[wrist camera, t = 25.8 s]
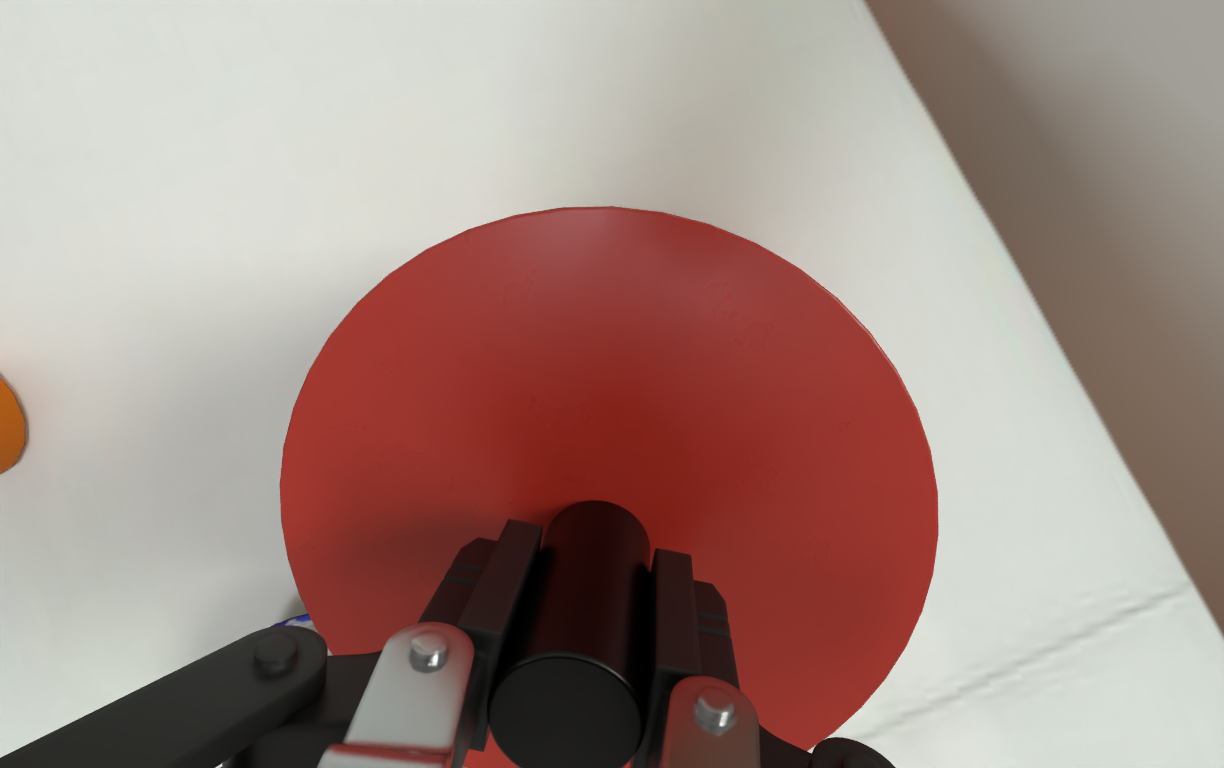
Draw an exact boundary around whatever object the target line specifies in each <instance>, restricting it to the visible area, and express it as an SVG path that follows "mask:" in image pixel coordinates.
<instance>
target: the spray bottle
mask: <svg viewBox="0 0 1224 768" xmlns="http://www.w3.org/2000/svg"><path fill="white" fill-rule="evenodd" d="M24 444H25V425H24V417H23V415H22V412H21V410H20V408H19V405H18V403H17V401H16V398H15V396H14V394H13V393H12V391H11V390H10V389H9V388H8V387H7V386H6V384H5V383H4V382H3V381H2V380H1V378H0V474H1V473H2V472H4V471H5V470H6V469H8V468H9V467H11V466H12V465H14V464H15V463H16V461H17V459H18V457H19V455H20V453H21V451H22V448H23V446H24Z"/></svg>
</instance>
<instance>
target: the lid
mask: <svg viewBox="0 0 1224 768" xmlns="http://www.w3.org/2000/svg"><path fill="white" fill-rule="evenodd" d="M280 500H281V523H282V528H283V534H284V539H285V545H286V550H287V556H288V560H289V564H290V567H291V570H292V573H293V576H294V579H295V582H296V585H297V588H298V592H299V595H300V597H301V599H302V601H303V603H304V605H305V607H306V610H307V612H308V614H309V616H310V618H311V620H312V622H313V625H314V627H315V629H316V630H317V632H318V633H319V634H320V635H321V636H322V637H323V638H324V640H325V641H326V644H327V647H328V649H329V651H330V652H331V654H332V655H352V654H366V653H372V652H377V651H380V650H383V648H384V646H385V644H386V642H387V641H388V640H389V639H390V637H391V636H392V635H394V634H395V633H396V632H398V631H399V630H401V629H403V628H405V627H407V626H410V625H413V624H417V622H418V621H419V619H420V617H421V616H422V614H423V612H424V610H425V609H426V607H427V605H428V604H429V602H430V600H431V598H432V597H433V595H434V593H435V592H436V590H437V588H438V586H439V585H440V583H441V581H442V580H444V576H445V574H446V573H447V571H448V569H449V568H450V567H451V565H452V562H453V561H454V559H455V557H456V556H457V554H458V552H459V550H460V549H461V548H462V547H464V546H465V545H467V544H468V543H470V542H472V541H473V540H475V539H476V538H478V537H480V538H485V539H490V540H495V541H498V539H499V537H500V535H501V533H502V531H503V529H504V527H505V525H506V523H507V521H508V519H514V520H519V521H524V522H529V523H534V524H539V525H543V533H542V540H541V546H540V552H539V555H538V558H537V561H536V563H535V566H534V569H533V572H532V575H531V578H530V581H529V583H528V586H527V589H526V592H525V595H524V598H523V601H522V603H521V606H520V609H519V612H518V615H517V618H516V621H515V623H514V626H513V629H512V632H511V635H510V638H509V641H508V643H507V646H506V649H505V652H504V655H503V658H502V661H501V664H500V666H499V669H498V672H497V675H496V678H495V681H494V683H493V685H492V688H491V691H490V693H489V697H488V702H487V719H488V724H489V728H490V735H489V738H488V741H487V744H486V747H485V750H484V752H481V751H476V750H471V749H469V750H468V752H467V755H466V758H465V761H464V764H463V766H464V767H466V768H630V760H631V759H632V758H633V756H634V755H635V754H636V752H637V751H638V749H639V747H640V745H641V743H642V740H643V737H644V733H645V727H646V682H647V647H648V612H649V578H650V569H651V565H652V560H653V556H654V552H655V549H656V548H660V549H666V550H671V551H676V552H681V553H686V554H690V555H691V558H692V569H693V580H697V581H702V582H707V583H712V584H713V585H714V586H715V588H716V589H717V590H718V592H719V593H720V594H721V596H722V597H723V599H724V600H725V602H726V608H727V614H728V623H729V626H730V632H731V636H730V638H732V644H733V650H734V656H735V662H736V668H737V674H738V680H739V686H740V691H741V692H742V693H743V694H744V695H745V696H746V697H747V698H748V699H749V700H750V701H751V703H752V704H753V706H754V708H755V709H756V712H757V715H758V720H759V724H760V725H761V726H762V727H764V728H765V729H766V730H767V731H769V732H770V733H772V734H773V735H775V736H776V737H778V738H780V739H782V740H784V741H786V742H788V743H790V744H792V745H794V746H796V747H799V748H801V749H803V750H805V751H808V750H809V749H811V748H812V747H814V746H815V745H817V744H818V743H819V742H821V741H822V740H824V739H825V738H827V737H828V736H829V735H831V734H832V733H834V732H835V731H836V730H837V729H838V728H839V727H840V726H841V725H842V724H844V723H845V722H846V721H847V720H848V719H849V718H850V717H851V716H852V715H853V714H855V713H856V712H857V711H858V710H859V709H860V708H861V707H862V706H863V705H864V704H865V702H866V701H867V700H868V699H869V698H870V696H871V695H872V694H873V693H874V692H875V691H876V689H877V688H878V687H879V686H880V685H881V683H882V682H883V681H884V680H885V679H886V677H887V676H888V674H889V673H890V671H891V669H892V668H893V666H894V665H895V663H896V662H897V660H898V658H899V657H900V655H901V654H902V652H903V651H904V649H905V647H906V646H907V644H908V641H909V639H910V637H911V635H912V633H913V630H914V628H915V626H916V624H917V622H918V619H919V617H920V615H921V613H922V610H923V607H924V603H925V600H926V596H927V593H928V589H929V586H930V582H931V579H932V576H933V571H934V563H935V556H936V548H937V541H938V491H937V485H936V479H935V473H934V468H933V462H932V456H931V450H930V447H929V444H928V441H927V438H926V435H925V432H924V429H923V426H922V423H921V420H920V417H919V414H918V411H917V409H916V407H915V405H914V403H913V401H912V399H911V397H910V395H909V393H908V391H907V389H906V387H905V385H904V383H903V381H902V379H901V377H900V375H899V373H898V371H897V369H896V368H895V367H894V365H893V364H892V362H891V361H890V360H889V358H888V357H887V355H886V354H885V353H884V351H883V350H882V348H881V347H880V346H879V344H878V343H877V341H876V340H875V339H874V337H873V336H872V334H871V333H870V332H869V331H868V330H867V329H866V328H865V326H864V325H863V324H862V323H861V322H860V321H859V320H858V319H857V318H856V317H855V316H854V315H853V314H852V313H851V312H850V311H849V310H848V309H847V308H846V307H845V306H844V305H843V304H842V302H841V301H840V300H839V299H838V298H837V297H835V296H834V295H833V294H831V293H830V292H829V291H828V290H826V289H825V288H824V287H823V286H821V285H820V284H819V283H817V282H816V281H815V280H814V279H812V278H811V277H810V276H808V275H807V274H806V273H805V272H803V271H802V270H801V269H800V268H798V267H796V266H795V265H793V264H791V263H789V262H788V261H786V260H784V259H782V258H781V257H779V256H777V255H776V254H774V253H772V252H770V251H769V250H767V249H765V248H763V247H762V246H760V245H758V244H757V243H754V242H752V241H749V240H747V239H744V238H742V237H739V236H737V235H735V234H732V233H730V232H727V231H725V230H722V229H720V228H717V227H715V226H712V225H710V224H706V223H703V222H699V221H695V220H691V219H687V218H683V217H679V216H675V215H671V214H667V213H663V212H657V211H648V210H640V209H631V208H622V207H614V206H609V207H564V208H556V209H550V210H544V211H538V212H532V213H525V214H519V215H514V216H510V217H507V218H504V219H501V220H497V221H494V222H491V223H488V224H484V225H481V226H478V227H475V228H471V229H468V230H466V231H464V232H462V233H460V234H458V235H456V236H454V237H452V238H449V239H447V240H445V241H443V242H441V243H439V244H437V245H435V246H432V247H430V248H428V249H426V250H425V251H423V252H422V253H420V254H419V255H417V256H416V257H414V258H413V259H411V260H410V261H408V262H407V263H405V264H404V265H402V266H401V267H399V268H398V269H396V270H395V271H393V272H392V273H390V274H389V275H388V276H387V277H385V278H384V279H383V280H382V281H381V282H380V283H379V284H378V285H377V286H375V287H374V288H373V289H372V290H371V291H370V292H369V293H368V294H366V295H365V296H364V297H363V298H362V299H361V300H360V301H359V302H358V303H357V304H356V305H355V306H354V307H353V308H352V310H351V311H350V312H349V313H348V314H347V316H346V317H345V318H344V319H343V321H342V322H341V323H340V324H339V325H338V327H337V328H336V329H335V330H334V331H333V333H332V334H331V335H330V336H329V338H328V340H327V341H326V343H325V345H324V346H323V348H322V350H321V351H320V353H319V355H318V356H317V358H316V360H315V361H314V363H313V365H312V366H311V368H310V370H309V372H308V374H307V376H306V379H305V381H304V384H303V386H302V388H301V391H300V393H299V396H298V398H297V400H296V403H295V405H294V408H293V411H292V415H291V419H290V423H289V427H288V431H287V435H286V439H285V443H284V449H283V458H282V468H281V478H280Z"/></svg>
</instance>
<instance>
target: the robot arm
mask: <svg viewBox="0 0 1224 768" xmlns="http://www.w3.org/2000/svg"><path fill="white" fill-rule="evenodd" d="M542 533H543V525H539V524H534V523H529V522H524V521H519V520H514V519H508V521H507V523H506V525H505V527H504V529H503V531H502V533H501V535H500V537H499V539H498V541H495V540H490V539H485V538H480V537H478V538H476V539H475V540H473V541H472V542H470V543H468V544H467V545H465V546H464V547H462V548H461V549H460V550H459V552H458V554H457V556H456V557H455V559H454V561H453V562H452V565H451V567H450V568H449V569H448V571H447V573H446V574H445V576H444V580H442V581H441V583H440V585H439V586H438V588H437V590H436V592H435V593H434V595H433V597H432V598H431V600H430V602H429V604H428V605H427V607H426V609H425V610H424V612H423V614H422V616H421V617H420V619H419V621H418V622H417V624H413V625H410V626H407V627H405V628H403V629H401V630H399V631H398V632H396V633H395V634H394V635H392V636H391V637H390V639H389V640H388V641H387V642H386V644H385V646H384V648H383V650H380V651H377V652H372V653H366V654H352V655H330V656H328V647H327V644H326V641H325V640H324V638H323V637H322V636H321V635H320V634H319V633H317V632H315V631H314V630H311V629H309V628H305V627H301V626H293V625H284V626H274V627H270V628H265V629H262V630H259V631H256V632H254V633H251V634H249V635H247V636H245V637H243V638H241V639H239V640H237V641H235V642H233V643H231V644H229V645H227V646H225V647H223V648H221V649H219V650H217V651H215V652H213V653H211V654H209V655H207V656H205V657H203V658H201V659H199V660H197V661H195V662H193V663H191V664H189V665H187V666H185V667H183V668H181V669H179V670H177V671H175V672H172V673H170V674H168V675H166V676H164V677H162V678H160V679H158V680H156V681H154V682H152V683H150V684H148V685H146V686H144V687H142V688H140V689H138V690H136V691H134V692H132V693H130V694H128V695H126V696H124V697H122V698H120V699H118V700H116V701H114V702H112V703H110V704H108V705H106V706H104V707H102V708H100V709H98V710H96V711H94V712H92V713H90V714H88V715H86V716H84V717H82V718H80V719H78V720H76V721H74V722H72V723H70V724H68V725H66V726H64V727H62V728H60V729H58V730H56V731H54V732H52V733H50V734H47V735H45V736H43V737H41V738H39V739H37V740H35V741H33V742H31V743H29V744H27V745H25V746H23V747H21V748H19V749H17V750H15V751H13V752H11V753H9V754H7V755H5V756H3V757H1V758H0V768H215V767H217V766H218V765H220V764H221V763H222V767H221V768H462V767H463V764H464V761H465V758H466V755H467V752H468V750H469V749H471V750H476V751H481V752H484V750H485V747H486V744H487V741H488V738H489V735H490V728H489V724H488V719H487V702H488V697H489V693H490V691H491V688H492V685H493V683H494V681H495V678H496V675H497V672H498V669H499V666H500V664H501V661H502V658H503V655H504V652H505V649H506V646H507V643H508V641H509V638H510V635H511V632H512V629H513V626H514V623H515V621H516V618H517V615H518V612H519V609H520V606H521V603H522V601H523V598H524V595H525V592H526V589H527V586H528V583H529V581H530V578H531V575H532V572H533V569H534V566H535V563H536V561H537V558H538V555H539V552H540V546H541V540H542ZM730 636H731V632H730V626H729V623H728V614H727V608H726V602H725V600H724V599H723V597H722V596H721V594H720V593H719V592H718V590H717V589H716V588H715V586H714V585H713V584H712V583H707V582H702V581H697V580H693V569H692V558H691V555H690V554H686V553H681V552H676V551H671V550H666V549H660V548H656V549H655V552H654V556H653V560H652V565H651V569H650V578H649V612H648V647H647V682H646V727H645V733H644V737H643V740H642V743H641V745H640V747H639V749H638V751H637V752H636V754H635V755H634V756H633V758H632V759H631V760H630V768H895V767H894V766H893V765H892V764H891V763H890V762H889V761H888V760H887V759H886V758H885V757H884V756H882V755H881V754H880V753H878V752H877V751H875V750H874V749H872V748H870V747H868V746H867V745H864V744H862V743H860V742H858V741H854V740H851V739H847V738H839V737H834V738H827V739H825V740H822V741H821V742H819V743H818V744H817V745H816V746H815V748H814V750H813V752H812V754H811V753H809V752H807V751H805V750H803V749H801V748H799V747H796V746H794V745H792V744H790V743H788V742H786V741H784V740H782V739H780V738H778V737H776V736H775V735H773V734H772V733H770V732H769V731H767V730H766V729H765V728H764V727H762V726H761V725H760V724H759V720H758V715H757V712H756V709H755V708H754V706H753V704H752V703H751V701H750V700H749V699H748V698H747V697H746V696H745V695H744V694H743V693H742V692H741V691H740V686H739V680H738V674H737V668H736V662H735V656H734V650H733V644H732V638H730Z"/></svg>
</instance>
